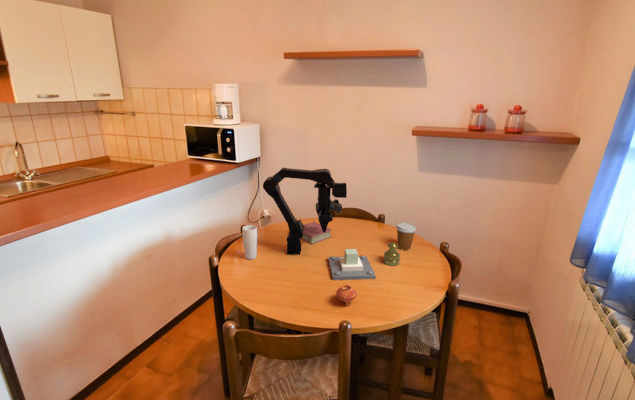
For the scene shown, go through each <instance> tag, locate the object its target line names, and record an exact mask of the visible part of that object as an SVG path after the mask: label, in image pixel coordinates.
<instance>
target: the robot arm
mask: <svg viewBox="0 0 635 400" xmlns="http://www.w3.org/2000/svg"><path fill="white" fill-rule="evenodd" d="M286 178H288V179H299V180H306V181H307V180H308V181H309V180H310V181H312V182H314V183H315V184H314V185H313V188H315V189H317V200H316V201H317V202H316V203H315V210H316V214H317V219H318V222H319V223H318V224H320V225H321V228H322V231H323V232H326V229H327V228H328V226H329V223H330V222H331V223H332V221H334V220H333V217H334V216H333V214H332V211H333V212H336V213H338V214H340V213H341V212H342V209H343V204H341V203H340V202H339V199H340V198H341V199H346V198H347V196H348V195H347V192H348V191H347V182H336V181H335V180H334V179H333V177H332V174H331V171H330V170H329V169H328V168H319V169H314V170H311V169H300V168H299V169H298V168H288V167H281V169H280V170H278V172H276V173H274V175H272V176H268V177H267V178H266V179H265V180H264V182H263V183H262V189H263V191H265V192H266V193H267V195H268V196H269V197H271V198H272V199H273V201H274V203H275V204H276V206H277V208H278V209H279V211H280V213H281V215H282V217H283V218H284V220H285V221H286V223H287V227H288V233H287V237H286V239H285V241H286V255H301V252H302V241H301V238H302V237H303V233H304V225H305V224H304V223H303V222H302V220H301V218H299V219H297V218H296V217H295V216H294V214H293V212H292V210H291V208H290V206H289V205H288V202H287V201H286V199H285V198H284V196H283V194H282V192H281V188H280V185H279V183H281V182H282V181H284V179H286ZM331 195H332V196H333V198H335V199H334V200H331ZM338 198H339V199H338Z"/></svg>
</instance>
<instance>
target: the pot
mask: <svg viewBox="0 0 635 400" xmlns="http://www.w3.org/2000/svg"><path fill="white" fill-rule="evenodd" d="M335 296H336V298H337V299H338V300H339V301H341V302H344V303H345V305H346V306H347V307H348V306H349V303H350V302H352V301H354V300H355V299H356V298H357V297H358V292H357V290H356V289H355V287H353V286H351V285H348V284H343V285H342V286H340V287H339V288H338V289H336V291H335Z"/></svg>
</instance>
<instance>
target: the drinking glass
mask: <svg viewBox="0 0 635 400" xmlns="http://www.w3.org/2000/svg"><path fill="white" fill-rule="evenodd" d="M241 231H242V233H241V234H242V242H243V250H244V257H245V259H247V260H254V259H256V258H257V255H258V254H257V253H258V250H257V249H258V226H256V225H253V224H247V225H244V226H243V227H242V229H241Z"/></svg>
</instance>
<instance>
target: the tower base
mask: <svg viewBox="0 0 635 400" xmlns="http://www.w3.org/2000/svg"><path fill="white" fill-rule="evenodd" d="M344 258H345V255H343V256H335V255H331V256H328V258H327V261H328V264H329V268H330V272H331V276H332V280H333V281H344V280H345V281H349V280H376V277H377V275H376V273H375V271H374V270H373V267H372V265H371V262H370V261H369V259H368V257H367V255H358V264H354V265H346V262H345V259H344Z"/></svg>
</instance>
